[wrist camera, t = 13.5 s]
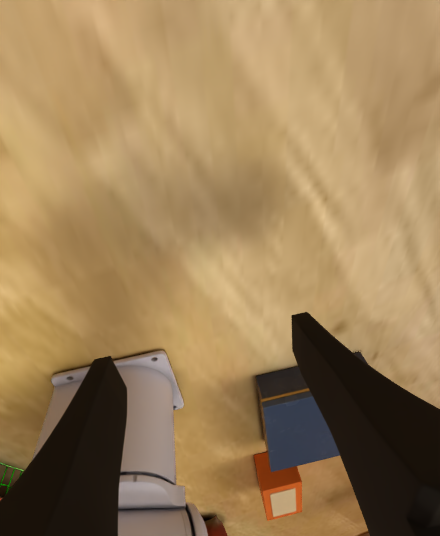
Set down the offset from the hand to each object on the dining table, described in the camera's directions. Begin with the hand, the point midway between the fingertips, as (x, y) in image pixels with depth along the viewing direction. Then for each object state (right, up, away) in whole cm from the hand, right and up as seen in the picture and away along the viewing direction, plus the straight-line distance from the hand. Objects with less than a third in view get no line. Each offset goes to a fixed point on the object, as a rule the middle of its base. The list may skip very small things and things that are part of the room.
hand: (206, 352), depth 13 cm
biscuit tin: (+10, -11, +22) cm, 26 cm away
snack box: (+8, -23, +29) cm, 38 cm away
